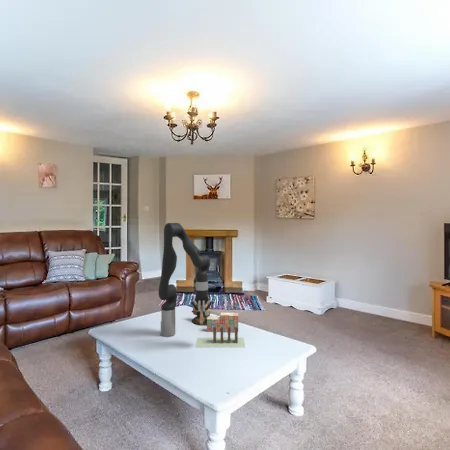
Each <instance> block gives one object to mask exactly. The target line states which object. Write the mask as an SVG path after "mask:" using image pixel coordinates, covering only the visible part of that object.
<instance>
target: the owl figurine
mask: <svg viewBox="0 0 450 450" xmlns="http://www.w3.org/2000/svg"><path fill="white" fill-rule="evenodd" d="M195 304H196V306H197V307H198V304H197V303H196V301H195ZM201 306H203V305H201ZM207 306H208V302H207V303H206V305H205V308H206V307H207ZM191 313H192V314H193V315H195V317H194V318H192V320H191V322H192V323H193V324H195V325H197V326H202V327H203V326H207V318H208V317H211V316H210V315H211V309H210V308H209V309H208V310H206V311H205V316H204V317H203V325H200V316H198V310H195V308H194V307H192V311H191Z"/></svg>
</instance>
